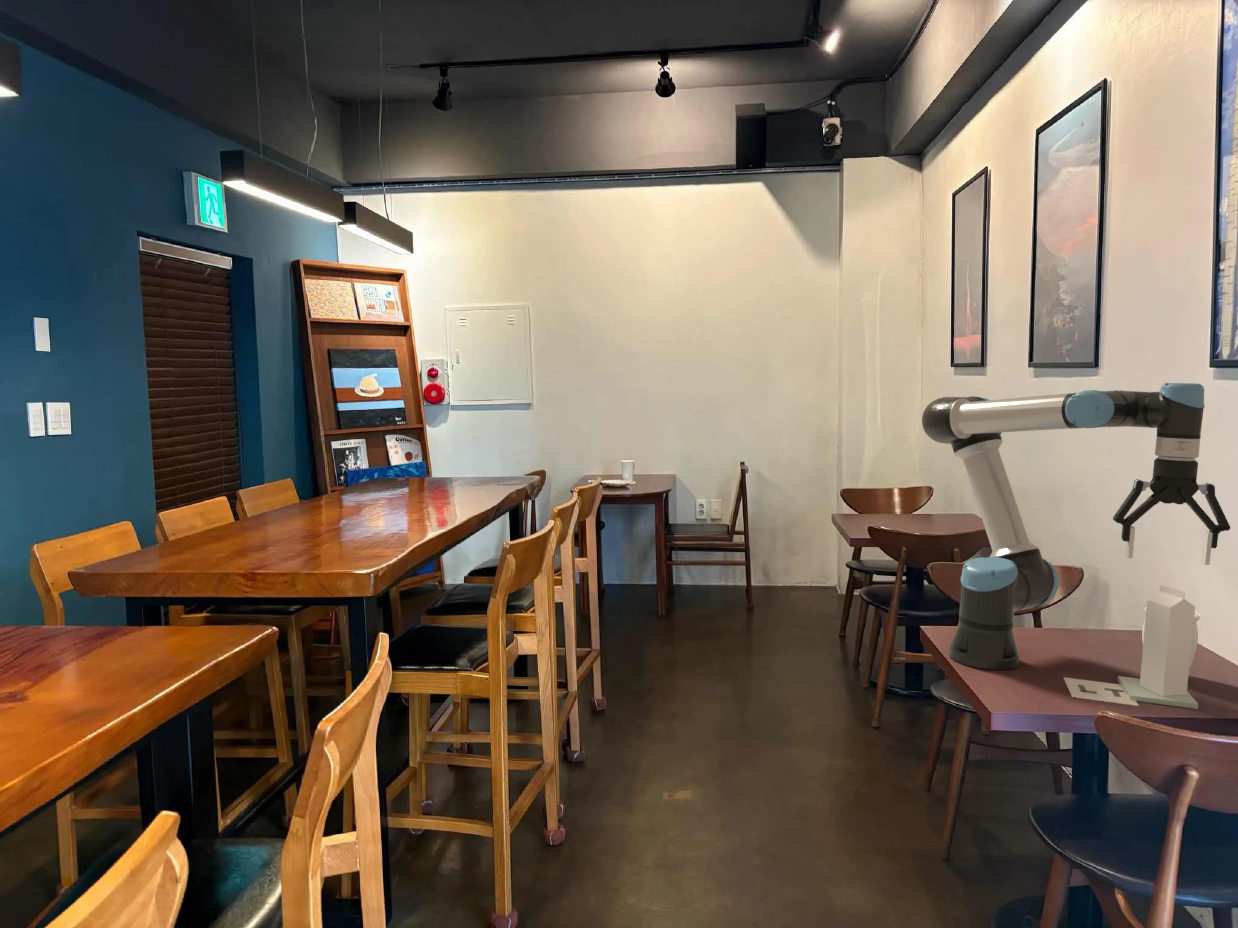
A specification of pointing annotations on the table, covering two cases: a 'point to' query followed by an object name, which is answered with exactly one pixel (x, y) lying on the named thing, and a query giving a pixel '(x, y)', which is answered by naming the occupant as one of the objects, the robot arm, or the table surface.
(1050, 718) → the table surface
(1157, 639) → the milk
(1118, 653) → the table surface
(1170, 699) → the coaster
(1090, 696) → the tile
